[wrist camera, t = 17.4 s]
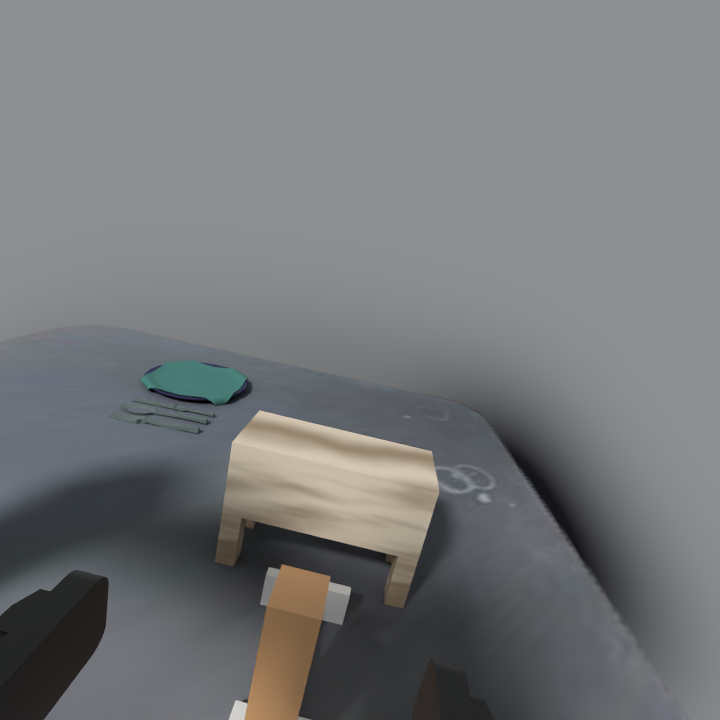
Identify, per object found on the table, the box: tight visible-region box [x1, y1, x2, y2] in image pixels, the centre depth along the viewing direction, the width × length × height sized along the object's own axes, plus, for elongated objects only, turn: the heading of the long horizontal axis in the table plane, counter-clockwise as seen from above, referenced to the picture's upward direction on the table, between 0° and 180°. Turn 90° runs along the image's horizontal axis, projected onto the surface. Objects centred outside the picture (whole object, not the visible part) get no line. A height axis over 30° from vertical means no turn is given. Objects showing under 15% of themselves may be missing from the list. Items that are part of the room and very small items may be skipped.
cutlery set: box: [107, 361, 248, 433], centre depth 79 cm, size 20×30×2 cm, turn 179°
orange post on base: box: [229, 564, 351, 720], centre depth 30 cm, size 16×8×15 cm, turn 175°
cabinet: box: [215, 411, 439, 609], centre depth 44 cm, size 10×20×14 cm, turn 85°
